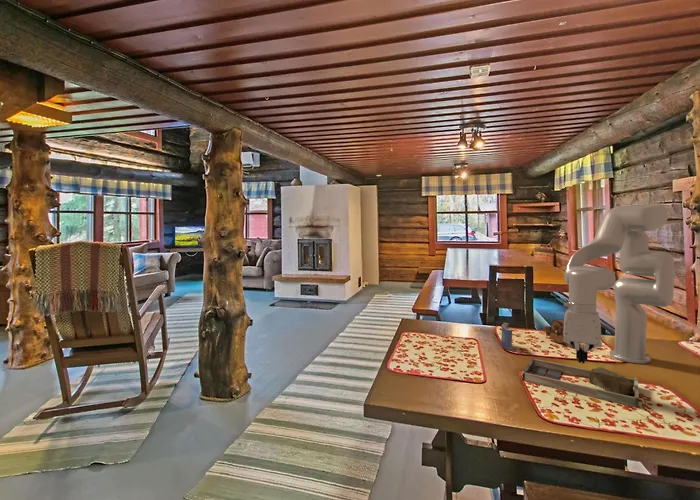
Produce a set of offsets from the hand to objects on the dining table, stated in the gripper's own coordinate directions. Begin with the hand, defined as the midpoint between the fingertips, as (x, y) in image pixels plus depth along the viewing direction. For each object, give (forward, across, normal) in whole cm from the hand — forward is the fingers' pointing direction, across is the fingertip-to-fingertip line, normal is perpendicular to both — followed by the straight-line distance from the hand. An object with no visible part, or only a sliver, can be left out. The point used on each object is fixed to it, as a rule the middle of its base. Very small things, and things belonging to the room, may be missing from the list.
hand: (581, 361), depth 115 cm
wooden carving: (+9, -12, +42) cm, 45 cm away
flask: (+8, -29, +22) cm, 37 cm away
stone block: (+8, +8, +1) cm, 11 cm away
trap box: (+7, -1, -1) cm, 7 cm away
